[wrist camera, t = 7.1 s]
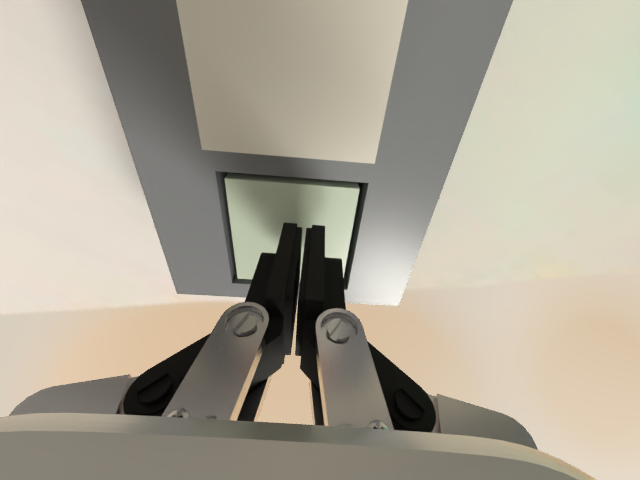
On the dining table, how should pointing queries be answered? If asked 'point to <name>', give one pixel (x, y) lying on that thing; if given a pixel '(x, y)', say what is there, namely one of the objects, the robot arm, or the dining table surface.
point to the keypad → (373, 179)
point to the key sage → (287, 214)
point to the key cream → (292, 74)
